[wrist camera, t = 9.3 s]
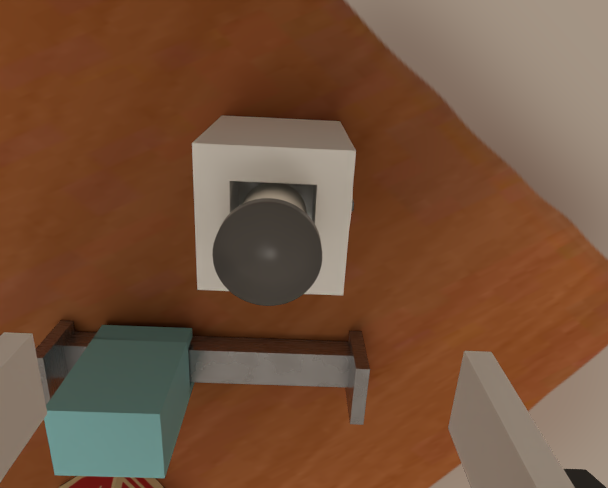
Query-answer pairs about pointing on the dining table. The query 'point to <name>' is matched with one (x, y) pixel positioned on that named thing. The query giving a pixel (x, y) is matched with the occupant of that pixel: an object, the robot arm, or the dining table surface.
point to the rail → (237, 362)
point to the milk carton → (111, 482)
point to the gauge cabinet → (275, 169)
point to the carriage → (121, 404)
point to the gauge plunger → (268, 247)
